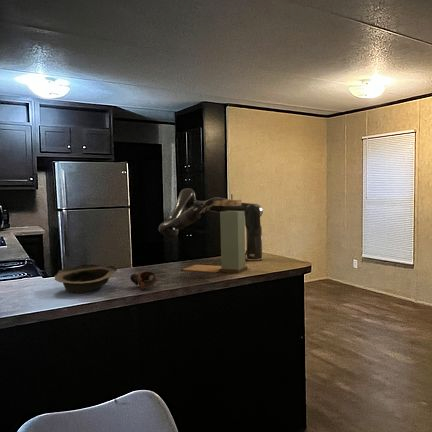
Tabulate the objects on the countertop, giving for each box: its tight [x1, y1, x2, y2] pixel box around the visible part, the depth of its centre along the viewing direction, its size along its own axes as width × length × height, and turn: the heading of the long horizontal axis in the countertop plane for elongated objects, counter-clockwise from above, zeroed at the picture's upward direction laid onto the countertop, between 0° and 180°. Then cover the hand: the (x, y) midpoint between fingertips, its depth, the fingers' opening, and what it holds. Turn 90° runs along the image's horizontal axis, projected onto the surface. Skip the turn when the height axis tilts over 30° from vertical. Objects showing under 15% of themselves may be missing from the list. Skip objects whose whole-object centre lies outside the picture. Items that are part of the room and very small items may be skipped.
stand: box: [218, 211, 249, 274], centre depth 230 cm, size 11×11×31 cm
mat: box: [181, 264, 221, 274], centre depth 236 cm, size 20×14×1 cm
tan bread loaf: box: [203, 193, 242, 206], centre depth 230 cm, size 20×6×6 cm, turn 70°
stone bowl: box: [54, 263, 117, 294], centre depth 193 cm, size 25×25×9 cm
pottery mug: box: [129, 270, 158, 291], centre depth 195 cm, size 12×10×8 cm
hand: (214, 200), depth 232 cm, fingers closed on tan bread loaf, 2 cm apart
